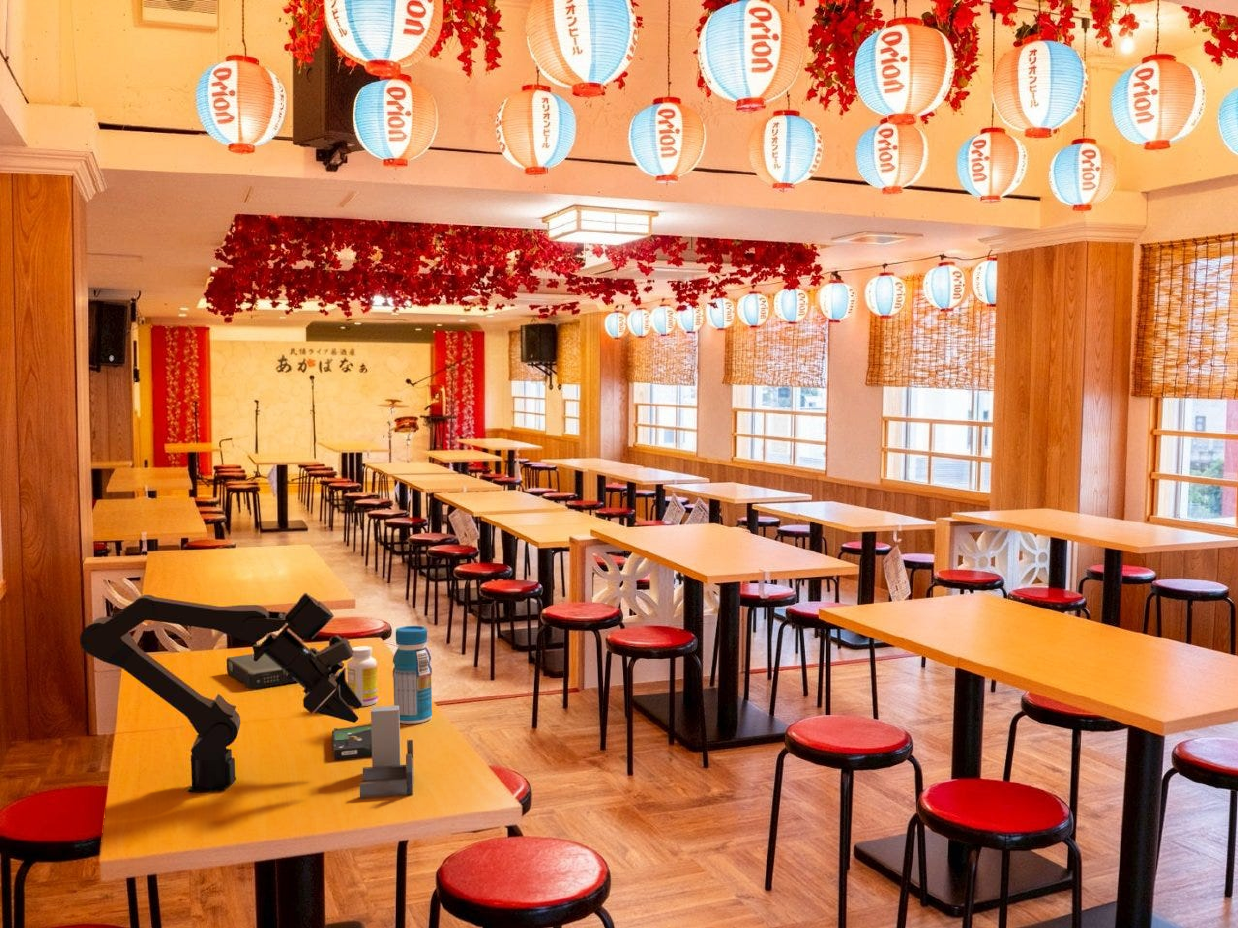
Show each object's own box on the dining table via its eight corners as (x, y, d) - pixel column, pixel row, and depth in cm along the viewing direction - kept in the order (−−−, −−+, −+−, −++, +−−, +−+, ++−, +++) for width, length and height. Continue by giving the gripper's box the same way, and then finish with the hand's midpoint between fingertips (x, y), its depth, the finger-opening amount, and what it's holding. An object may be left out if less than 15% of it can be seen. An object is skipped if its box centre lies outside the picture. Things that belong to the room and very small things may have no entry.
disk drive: (388, 758, 207) (382, 735, 221) (388, 744, 207) (381, 722, 221) (334, 764, 204) (330, 740, 218) (333, 749, 204) (330, 727, 218)
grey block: (372, 777, 194) (370, 712, 194) (373, 768, 199) (372, 705, 199) (400, 775, 195) (398, 711, 195) (400, 766, 200) (399, 703, 200)
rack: (359, 798, 184) (358, 758, 183) (363, 780, 192) (362, 742, 192) (413, 794, 185) (412, 755, 185) (414, 777, 194) (413, 739, 194)
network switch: (302, 662, 288) (301, 644, 288) (343, 677, 271) (343, 657, 271) (216, 677, 273) (216, 658, 272) (255, 694, 255) (254, 673, 255)
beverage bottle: (393, 726, 226) (391, 633, 225) (393, 715, 234) (391, 625, 233) (433, 723, 228) (431, 631, 227) (432, 712, 236) (430, 623, 235)
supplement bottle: (382, 699, 248) (380, 645, 247) (372, 707, 241) (371, 651, 240) (354, 699, 248) (352, 644, 248) (344, 706, 242) (342, 651, 241)
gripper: (320, 635, 185) (386, 694, 187) (330, 615, 203) (391, 669, 206) (275, 683, 184) (342, 741, 186) (289, 658, 202) (350, 712, 205)
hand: (358, 713), depth 196 cm, fingers open, 9 cm apart
